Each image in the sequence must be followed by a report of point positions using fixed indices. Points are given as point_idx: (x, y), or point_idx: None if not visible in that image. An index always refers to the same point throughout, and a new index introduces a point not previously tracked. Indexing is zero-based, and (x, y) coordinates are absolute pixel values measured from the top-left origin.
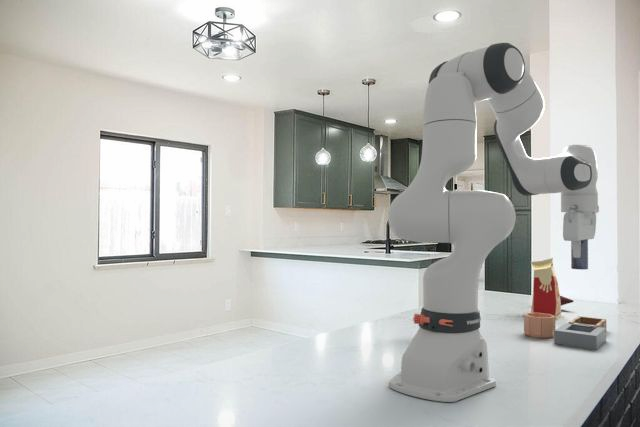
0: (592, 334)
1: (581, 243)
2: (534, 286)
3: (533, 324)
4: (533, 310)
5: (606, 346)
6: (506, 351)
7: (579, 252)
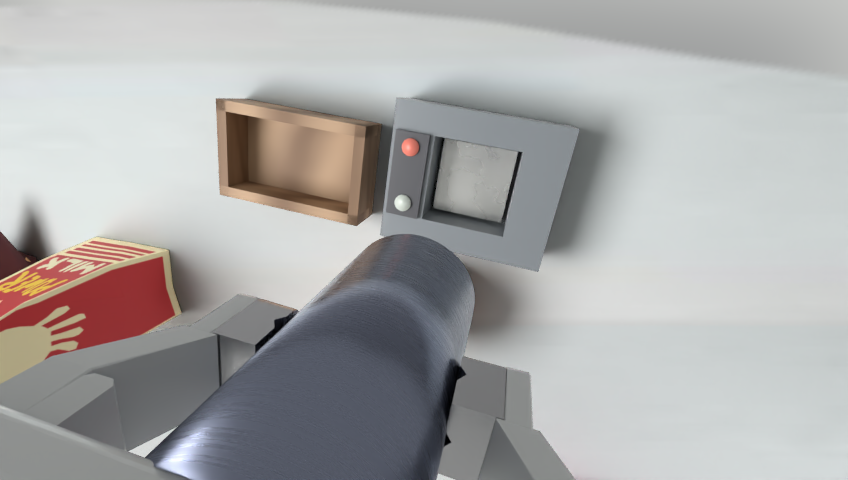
0: (557, 144)
1: None
2: None
3: None
4: (164, 321)
5: (499, 94)
6: (714, 378)
7: (529, 420)
